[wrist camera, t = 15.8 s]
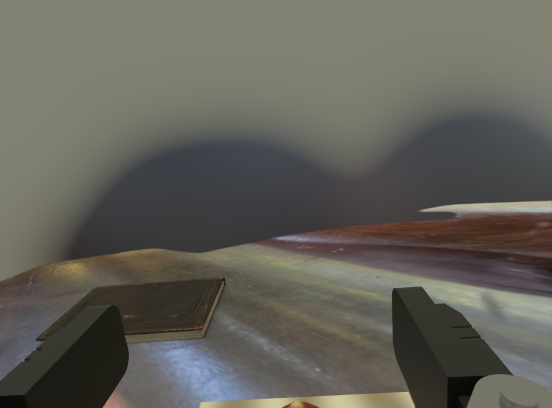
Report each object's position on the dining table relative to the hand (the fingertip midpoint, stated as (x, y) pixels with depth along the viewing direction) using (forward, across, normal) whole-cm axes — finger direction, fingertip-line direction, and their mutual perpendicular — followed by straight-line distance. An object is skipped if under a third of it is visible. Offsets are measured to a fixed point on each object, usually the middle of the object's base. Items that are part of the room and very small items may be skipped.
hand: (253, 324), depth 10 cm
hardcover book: (+40, +24, +23) cm, 52 cm away
